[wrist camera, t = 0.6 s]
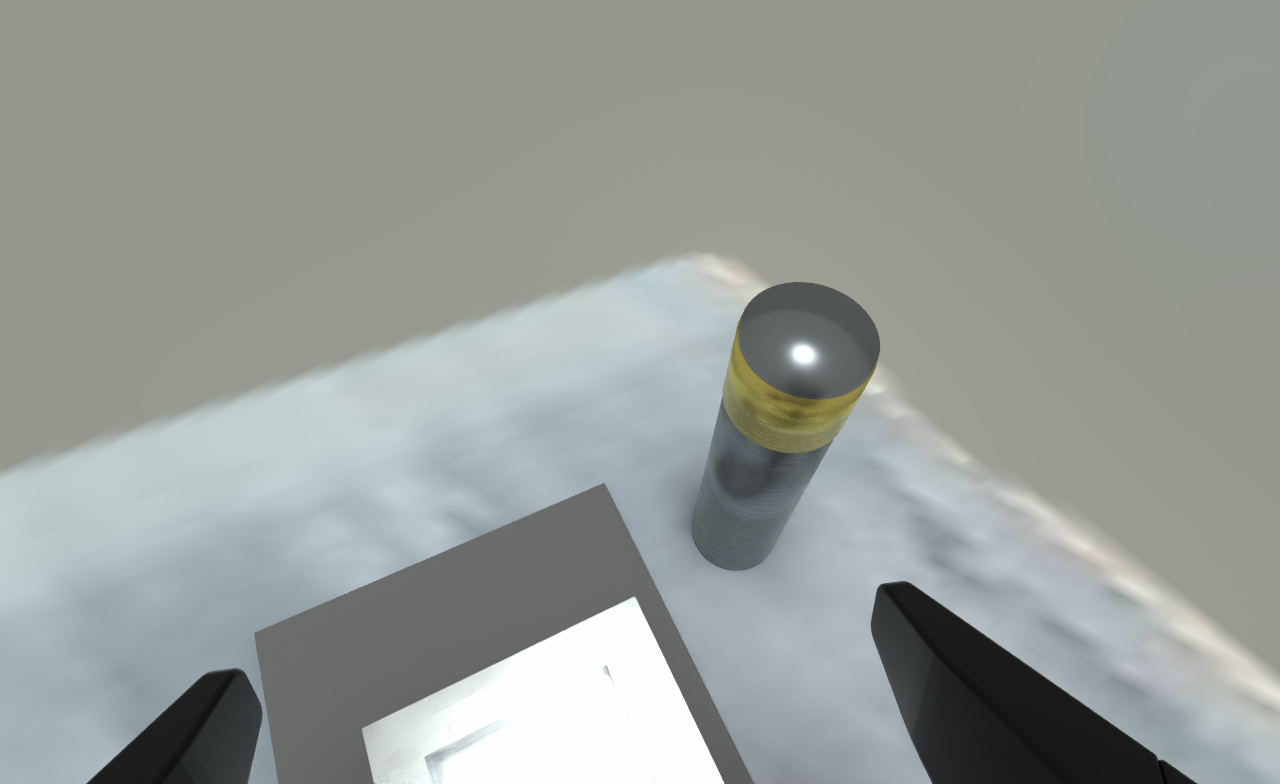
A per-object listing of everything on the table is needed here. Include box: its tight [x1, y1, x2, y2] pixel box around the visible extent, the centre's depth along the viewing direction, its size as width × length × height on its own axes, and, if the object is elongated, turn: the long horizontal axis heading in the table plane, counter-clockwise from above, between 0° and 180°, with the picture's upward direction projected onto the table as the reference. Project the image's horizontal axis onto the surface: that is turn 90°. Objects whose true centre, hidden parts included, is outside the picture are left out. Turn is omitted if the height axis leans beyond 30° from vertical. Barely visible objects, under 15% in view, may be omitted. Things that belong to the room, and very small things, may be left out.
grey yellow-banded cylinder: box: [692, 282, 880, 570], centre depth 21 cm, size 4×4×13 cm
